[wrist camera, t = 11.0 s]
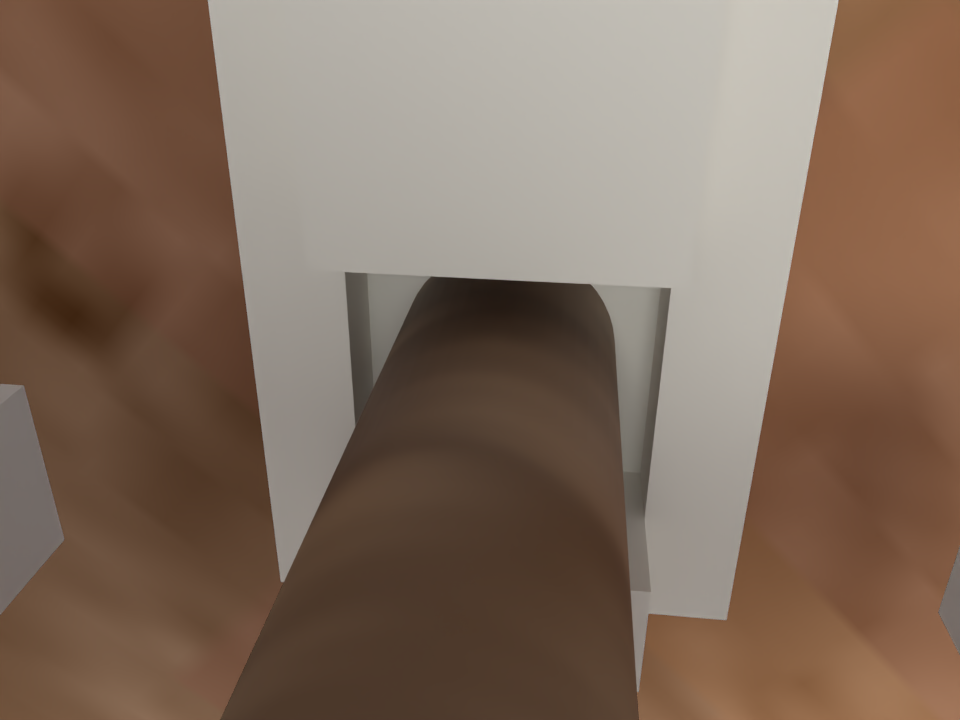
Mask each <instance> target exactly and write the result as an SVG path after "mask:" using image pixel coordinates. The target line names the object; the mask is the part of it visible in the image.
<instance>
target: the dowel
mask: <svg viewBox="0 0 960 720" xmlns="http://www.w3.org/2000/svg"><path fill="white" fill-rule="evenodd" d="M220 720H639V716H638V700H637V685H636V669H635V653H634V637H633V622H632V606H631V590H630V574H629V559H628V543H627V527H626V511H625V496H624V480H623V464H622V448H621V433H620V417H619V401H618V385H617V370H616V354H615V339H614V332H613V326H612V322H611V319H610V315H609V313H608V311H607V308H606V306H605V304H604V302H603V300H602V299H601V297H600V296H599V294H598V292H597V291H596V290H595V289H594V287H593V286H592V285H591V284H577V283H557V282H537V281H516V280H496V279H476V278H455V277H435V276H431V277H430V278H429V279H428V280H427V281H426V282H425V283H424V285H423V286H422V288H421V289H420V291H419V292H418V293H417V295H416V297H415V299H414V301H413V303H412V305H411V307H410V309H409V312H408V314H407V316H406V318H405V320H404V322H403V325H402V327H401V329H400V331H399V333H398V335H397V338H396V340H395V342H394V344H393V346H392V349H391V351H390V353H389V355H388V357H387V359H386V362H385V364H384V366H383V368H382V370H381V372H380V375H379V377H378V379H377V381H376V383H375V385H374V388H373V390H372V392H371V394H370V396H369V398H368V401H367V403H366V405H365V407H364V409H363V411H362V414H361V416H360V418H359V420H358V422H357V424H356V427H355V429H354V431H353V433H352V435H351V437H350V440H349V442H348V444H347V446H346V448H345V450H344V453H343V455H342V457H341V459H340V461H339V463H338V466H337V468H336V470H335V472H334V474H333V476H332V479H331V481H330V483H329V485H328V487H327V489H326V492H325V494H324V496H323V498H322V500H321V502H320V505H319V507H318V509H317V511H316V513H315V515H314V518H313V520H312V522H311V524H310V526H309V529H308V531H307V533H306V535H305V537H304V539H303V542H302V544H301V546H300V548H299V550H298V552H297V555H296V557H295V559H294V561H293V563H292V565H291V568H290V570H289V572H288V574H287V576H286V578H285V581H284V583H283V585H282V587H281V589H280V591H279V594H278V596H277V598H276V600H275V602H274V604H273V607H272V609H271V611H270V613H269V615H268V617H267V620H266V622H265V624H264V626H263V628H262V630H261V633H260V635H259V637H258V639H257V641H256V643H255V646H254V648H253V650H252V652H251V654H250V656H249V659H248V661H247V663H246V665H245V667H244V669H243V672H242V674H241V676H240V678H239V680H238V682H237V685H236V687H235V689H234V691H233V693H232V695H231V698H230V700H229V702H228V704H227V706H226V708H225V711H224V713H223V715H222V717H221V719H220Z"/></svg>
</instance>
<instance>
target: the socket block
mask: <svg viewBox="0 0 960 720" xmlns="http://www.w3.org/2000/svg"><path fill="white" fill-rule="evenodd" d="M838 1H839V0H208V5H209V13H210V21H211V29H212V37H213V45H214V53H215V61H216V69H217V77H218V85H219V93H220V101H221V109H222V117H223V125H224V133H225V141H226V149H227V157H228V165H229V173H230V181H231V189H232V197H233V205H234V213H235V221H236V229H237V237H238V245H239V253H240V261H241V269H242V277H243V285H244V293H245V301H246V309H247V317H248V324H249V332H250V340H251V348H252V356H253V364H254V372H255V380H256V388H257V396H258V404H259V412H260V420H261V428H262V436H263V444H264V452H265V460H266V468H267V476H268V484H269V492H270V500H271V508H272V516H273V524H274V532H275V540H276V548H277V556H278V564H279V572H280V580H281V582H284V581H285V578H286V576H287V574H288V572H289V570H290V568H291V565H292V563H293V561H294V559H295V557H296V555H297V552H298V550H299V548H300V546H301V544H302V542H303V539H304V537H305V535H306V533H307V531H308V529H309V526H310V524H311V522H312V520H313V518H314V515H315V513H316V511H317V509H318V507H319V505H320V502H321V500H322V498H323V496H324V494H325V492H326V489H327V487H328V485H329V483H330V481H331V479H332V476H333V474H334V472H335V470H336V468H337V466H338V463H339V461H340V459H341V457H342V455H343V453H344V450H345V448H346V446H347V444H348V442H349V440H350V437H351V435H352V433H353V431H354V429H355V427H356V424H357V422H358V420H359V418H360V416H361V414H362V411H363V409H364V407H365V405H366V403H367V401H368V398H369V396H370V394H371V392H372V390H373V388H374V385H375V383H376V381H377V379H378V377H379V375H380V372H381V370H382V368H383V366H384V364H385V362H386V359H387V357H388V355H389V353H390V351H391V349H392V346H393V344H394V342H395V340H396V338H397V335H398V333H399V331H400V329H401V327H402V325H403V322H404V320H405V318H406V316H407V314H408V312H409V309H410V307H411V305H412V303H413V301H414V299H415V297H416V295H417V293H418V292H419V291H420V289H421V288H422V286H423V285H424V283H425V282H426V281H427V280H428V279H429V278H430V277H431V276H435V277H455V278H476V279H496V280H516V281H537V282H557V283H577V284H591V285H592V286H593V287H594V289H595V290H596V291H597V292H598V294H599V296H600V297H601V299H602V300H603V302H604V304H605V306H606V308H607V311H608V313H609V315H610V319H611V322H612V326H613V332H614V339H615V354H616V370H617V385H618V401H619V417H620V433H621V448H622V464H623V480H624V496H625V511H626V527H627V543H628V559H629V574H630V590H631V606H632V622H633V637H634V653H635V669H636V685H637V692H639V684H640V677H641V669H642V661H643V653H644V645H645V637H646V629H647V621H648V614H660V615H671V616H683V617H695V618H706V619H718V620H727V615H728V609H729V603H730V598H731V592H732V587H733V581H734V576H735V570H736V565H737V559H738V554H739V548H740V543H741V537H742V532H743V526H744V521H745V515H746V509H747V504H748V498H749V493H750V487H751V482H752V476H753V471H754V465H755V460H756V454H757V449H758V443H759V438H760V432H761V427H762V421H763V415H764V410H765V404H766V399H767V393H768V388H769V382H770V377H771V371H772V366H773V360H774V355H775V349H776V344H777V338H778V333H779V327H780V321H781V316H782V310H783V305H784V299H785V294H786V288H787V283H788V277H789V272H790V266H791V261H792V255H793V250H794V244H795V239H796V233H797V227H798V222H799V216H800V211H801V205H802V200H803V194H804V189H805V183H806V178H807V172H808V167H809V161H810V156H811V150H812V145H813V139H814V133H815V128H816V122H817V117H818V111H819V106H820V100H821V95H822V89H823V84H824V78H825V73H826V67H827V62H828V56H829V51H830V45H831V39H832V34H833V28H834V23H835V17H836V12H837V6H838Z"/></svg>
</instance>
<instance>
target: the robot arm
mask: <svg viewBox="0 0 960 720" xmlns="http://www.w3.org/2000/svg"><path fill="white" fill-rule="evenodd" d="M63 541H64V536H63V532H62V528H61V525H60V521H59V517H58V513H57V509H56V506H55V502H54V498H53V494H52V490H51V487H50V483H49V479H48V475H47V471H46V468H45V464H44V460H43V456H42V453H41V449H40V445H39V441H38V437H37V434H36V430H35V426H34V422H33V418H32V415H31V411H30V407H29V403H28V400H27V396H26V392H25V388H24V385H10V384H0V614H1V613H2V612H3V611H4V610H5V609H6V607H7V606H8V605H9V604H10V603H11V602H12V600H13V599H14V598H15V597H16V596H17V595H18V593H19V592H20V591H21V590H22V589H23V588H24V586H25V585H26V584H27V583H28V582H29V581H30V579H31V578H32V577H33V576H34V575H35V574H36V572H37V571H38V570H39V569H40V568H41V566H42V565H43V564H44V563H45V562H46V561H47V559H48V558H49V557H50V556H51V555H52V554H53V552H54V551H55V550H56V549H57V548H58V547H59V545H60V544H61V543H62V542H63ZM938 613H939V615H940V617H941V619H942V621H943V623H944V625H945V627H946V629H947V631H948V633H949V635H950V636H951V638H952V640H953V642H954V644H955V646H956V648H957V650H958V652H959V654H960V547H959V550H958V553H957V556H956V560H955V563H954V566H953V569H952V572H951V575H950V578H949V581H948V584H947V587H946V590H945V593H944V596H943V599H942V602H941V605H940V609H939V612H938Z"/></svg>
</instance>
